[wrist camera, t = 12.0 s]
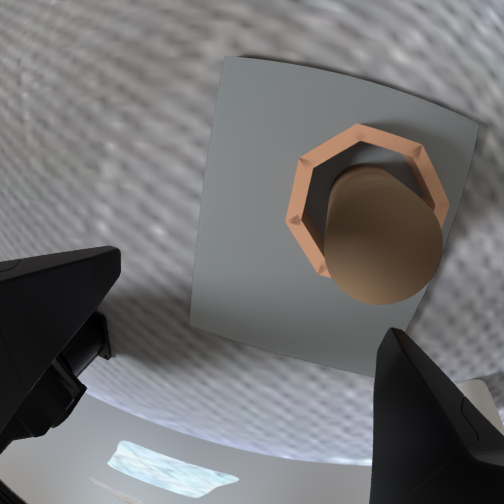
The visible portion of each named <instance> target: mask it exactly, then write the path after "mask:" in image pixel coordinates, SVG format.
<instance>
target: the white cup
mask: <svg viewBox="0 0 504 504" xmlns="http://www.w3.org/2000/svg"><path fill="white" fill-rule="evenodd" d="M456 386H457V387H458V388H459V390H460V391H461V392H462V393H463V394H464V396H466V397H467V398H468V399H469V400H470V402H471V403H472V404H473V405H474V406H475V407H476V408H477V409H478V410H479V411H480V412H481V413H482V414H483V415H484V416H485V417H486V418H487V419H488V420H489V421H490V422H491V423H492V424H493V425H494V426H495V427H496V428H497V429H498V430H499V431H500V432H501V433H502V434H503V435H504V426H503V424H502V421H501V418H500V416H499V413H498V411H497V408H496V406H495V404H494V401H493V399H492V397H491V394H490V392H489V390H488V387H487V385H486V383H485V382H484V381H482V380H480V379H470V380H467V381H464V382H461V383H458V384H457V385H456Z"/></svg>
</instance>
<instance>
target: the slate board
mask: <svg viewBox="0 0 504 504" xmlns="http://www.w3.org/2000/svg"><path fill="white" fill-rule="evenodd" d="M357 123H358V124H361V125H365V126H368V127H371V128H375V129H378V130H381V131H384V132H387V133H391V134H394V135H397V136H400V137H403V138H405V139H408V140H411V141H414V142H417V143H419V144H422V145H423V147H424V149H425V151H426V153H427V155H428V157H429V159H430V161H431V163H432V165H433V167H434V169H435V171H436V174H437V176H438V178H439V180H440V182H441V185H442V187H443V189H444V192H445V194H446V196H447V199H448V201H449V204H450V205H449V208H448V211H447V214H446V217H445V220H444V223H443V226H442V229H441V231H442V236H443V248H444V246H445V243H446V240H447V238H448V235H449V232H450V230H451V227H452V224H453V221H454V218H455V215H456V212H457V209H458V206H459V203H460V200H461V197H462V193H463V190H464V186H465V183H466V179H467V176H468V172H469V168H470V164H471V160H472V156H473V152H474V148H475V143H476V139H477V134H478V129H479V124H478V123H476V122H474V121H472V120H470V119H468V118H466V117H464V116H462V115H459V114H457V113H455V112H453V111H450V110H448V109H446V108H443V107H441V106H438V105H436V104H434V103H431V102H428V101H426V100H423V99H421V98H418V97H415V96H413V95H410V94H407V93H404V92H401V91H398V90H395V89H392V88H389V87H386V86H383V85H379V84H376V83H373V82H369V81H366V80H362V79H358V78H355V77H351V76H347V75H343V74H339V73H335V72H330V71H326V70H321V69H316V68H311V67H306V66H301V65H295V64H289V63H283V62H276V61H269V60H261V59H252V58H243V57H231V56H224V61H223V67H222V72H221V77H220V82H219V88H218V94H217V99H216V105H215V111H214V117H213V123H212V129H211V135H210V142H209V148H208V155H207V162H206V169H205V176H204V184H203V191H202V199H201V207H200V215H199V224H198V233H197V242H196V251H195V261H194V272H193V282H192V294H191V306H190V320H189V326H192V327H195V328H198V329H201V330H204V331H206V332H209V333H212V334H215V335H218V336H221V337H225V338H228V339H231V340H234V341H237V342H240V343H243V344H247V345H250V346H253V347H257V348H260V349H263V350H267V351H270V352H274V353H277V354H281V355H284V356H288V357H292V358H295V359H299V360H303V361H307V362H311V363H315V364H319V365H323V366H327V367H331V368H335V369H339V370H344V371H348V372H353V373H357V374H362V375H367V376H371V377H375V370H376V357H377V350H378V347H379V345H380V344H381V342H382V340H383V338H384V336H385V334H386V332H387V330H388V329H389V328H390V327H394V328H398V329H402V330H403V331H404V332H405V331H406V329H407V327H408V325H409V323H410V321H411V319H412V317H413V315H414V313H415V311H416V309H417V307H418V305H419V303H420V301H421V299H422V297H423V295H424V293H425V291H426V288H427V286H428V284H429V282H430V281H429V282H428V284H427V285H426V286H425V287H424V288H423V289H422V290H421V291H419V292H418V293H417V294H415V295H414V296H412V297H410V298H408V299H406V300H404V301H401V302H398V303H394V304H389V305H372V304H367V303H363V302H360V301H358V300H356V299H354V298H352V297H350V296H349V295H347V294H346V293H344V292H343V291H342V290H341V289H340V288H339V287H338V286H337V285H336V284H335V282H334V281H333V279H332V278H330V277H326V276H323V275H319V274H317V272H316V270H315V269H314V267H313V266H312V264H311V262H310V261H309V259H308V258H307V256H306V254H305V253H304V251H303V250H302V248H301V246H300V245H299V243H298V242H297V240H296V238H295V237H294V235H293V234H292V232H291V231H290V229H289V227H288V226H287V224H286V223H285V220H286V215H287V211H288V206H289V202H290V197H291V193H292V188H293V184H294V179H295V174H296V170H297V165H298V160H299V158H300V157H301V156H302V155H303V154H305V153H307V152H308V151H310V150H312V149H313V148H315V147H317V146H318V145H320V144H322V143H323V142H325V141H327V140H328V139H330V138H332V137H333V136H335V135H337V134H338V133H340V132H342V131H344V130H345V129H347V128H349V127H351V126H352V125H354V124H357ZM361 163H367V164H373V165H377V166H379V167H381V168H383V169H384V170H386V171H387V172H389V173H390V174H391V175H392V176H394V177H395V178H396V179H398V180H399V181H400V182H401V183H403V184H404V185H405V186H406V187H408V188H409V189H410V190H411V191H413V192H414V193H415V194H416V195H417V196H419V197H420V198H421V199H422V198H423V194H422V192H421V190H420V188H419V186H418V183H417V181H416V179H415V177H414V175H413V173H412V171H411V169H410V167H409V165H408V164H407V162H406V160H405V158H404V156H403V154H402V153H399V152H396V151H393V150H390V149H387V148H384V147H380V146H377V145H374V144H371V143H367V142H364V141H359V142H357V143H355V144H354V145H352V146H350V147H348V148H347V149H345V150H343V151H342V152H340V153H338V154H336V155H335V156H333V157H331V158H330V159H328V160H326V161H324V162H323V163H321V164H319V165H318V166H316V167H315V168H314V173H313V177H312V181H311V186H310V190H309V194H308V199H307V203H306V207H305V209H306V210H307V212H308V214H309V215H310V217H311V218H312V220H313V222H314V223H315V225H316V227H317V228H318V230H319V232H320V233H321V235H322V237H323V238H324V239H325V231H326V221H327V212H328V201H329V193H330V189H331V186H332V183H333V181H334V180H335V178H336V177H337V176H338V175H339V174H340V173H341V172H342V171H343V170H344V169H346V168H348V167H350V166H352V165H355V164H361Z"/></svg>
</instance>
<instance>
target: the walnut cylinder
mask: <svg viewBox="0 0 504 504" xmlns="http://www.w3.org/2000/svg"><path fill="white" fill-rule="evenodd" d="M442 251H443V236H442V231H441V227H440V224H439V221H438V219H437V217H436V215H435V213H434V212H433V211H432V209H431V208H430V207H429V206H428V205H427V203H426V202H425V201H423V200H422V199H421V198H420V197H419V196H417V195H416V194H415V193H414V192H413V191H411V190H410V189H409V188H408V187H406V186H405V185H404V184H403V183H401V182H400V181H399V180H398V179H396V178H395V177H394V176H392V175H391V174H390V173H389V172H387V171H386V170H384V169H383V168H381V167H379V166H377V165H373V164H367V163H361V164H355V165H352V166H350V167H348V168H346V169H344V170H343V171H342V172H341V173H340V174H339V175H338V176H337V177H336V178H335V180H334V181H333V183H332V186H331V189H330V193H329V201H328V212H327V221H326V231H325V239H324V258H325V263H326V266H327V269H328V272H329V274H330V276H331V278H332V279H333V281H334V282H335V284H336V285H337V286H338V287H339V288H340V289H341V290H342V291H343V292H344V293H346V294H347V295H349V296H350V297H352V298H354V299H356V300H358V301H360V302H363V303H367V304H372V305H389V304H394V303H398V302H401V301H404V300H406V299H408V298H410V297H412V296H414V295H415V294H417V293H418V292H419V291H421V290H422V289H423V288H424V287H425V286H426V285H427V284H428V282H429V281H430V280H431V279H432V277H433V276H434V274H435V272H436V270H437V268H438V266H439V263H440V260H441V256H442Z"/></svg>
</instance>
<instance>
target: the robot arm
mask: <svg viewBox="0 0 504 504" xmlns="http://www.w3.org/2000/svg"><path fill="white" fill-rule="evenodd" d="M120 273H121V252H120V250H119V249H118V248H116V247H113V246H102V247H95V248H88V249H81V250H74V251H68V252H61V253H54V254H48V255H41V256H35V257H29V258H23V259H16V260H9V261H3V262H0V454H1V453H2V452H3V451H4V450H5V449H6V447H7V446H8V445H9V444H10V443H11V442H12V441H13V440H18V439H25V438H30V437H39V436H42V435H45V434H46V432H47V431H48V430H49V429H50V427H51V428H55V427H57V426H59V425H60V424H61V423H62V422H64V421H65V420H66V419H67V418H68V416H69V415H70V414H71V412H72V411H73V409H74V408H75V406H76V405H77V403H78V402H79V400H80V398H81V397H82V396H83V394H84V393H85V391H86V390H87V387H86V386H85V385H84V384H82V383H81V382H80V380H79V379H78V378H77V377H78V376H79V375H80V374H81V373H82V372H83V371H84V370H85V369H86V368H87V366H88V365H89V364H90V363H91V362H92V361H93V360H94V359H95V358H96V357H97V356H100V357H102V358H104V359H106V360H109V359H110V358H111V352H110V346H109V340H108V334H107V327H106V320H105V317H104V316H103V315H102V314H100V313H98V312H96V311H95V309H96V308H97V307H98V306H99V304H100V303H101V302H102V300H103V299H104V297H105V296H106V294H107V293H108V292H109V290H110V289H111V287H112V286H113V285H114V283H115V282H116V280H117V279H118V278H119V276H120ZM371 477H372V478H371V490H370V501H369V504H504V435H503V434H502V433H501V432H500V431H499V430H498V429H497V428H496V427H495V426H494V425H493V424H492V423H491V422H490V421H489V420H488V419H487V418H486V417H485V416H484V415H483V414H482V413H481V412H480V411H479V410H478V409H477V408H476V407H475V406H474V405H473V404H472V403H471V402H470V400H469V399H468V398H467V397H466V396H464V394H463V393H462V392H461V391H460V390H459V388H458V387H457V386H456V385H455V384H454V383H453V382H452V381H451V380H450V379H449V378H448V377H447V376H446V374H445V373H444V372H443V371H442V370H441V369H440V368H439V367H438V366H437V365H436V364H435V363H434V362H433V361H432V360H431V359H430V358H429V357H428V356H427V354H426V353H425V352H424V351H423V350H422V349H421V348H420V347H419V346H418V345H417V344H416V343H415V342H414V341H413V340H412V339H411V338H410V337H409V336H408V335H407V334H406V333H405V332H404V331H403V330H402V329H398V328H394V327H390V328H389V329H388V330H387V332H386V334H385V336H384V338H383V340H382V342H381V344H380V345H379V347H378V350H377V357H376V370H375V382H374V394H373V458H372V476H371ZM0 504H28V503H26V502H25V501H24V500H23V499H22V498H20V497H19V496H18V495H17V494H16V493H15V492H14V491H12V490H11V489H10V488H9V487H8V486H7V485H6V484H5V483H4V482H3V481H2V480H0Z"/></svg>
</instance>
